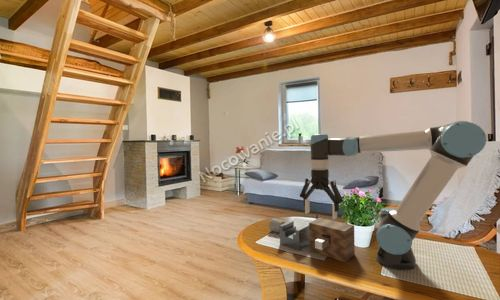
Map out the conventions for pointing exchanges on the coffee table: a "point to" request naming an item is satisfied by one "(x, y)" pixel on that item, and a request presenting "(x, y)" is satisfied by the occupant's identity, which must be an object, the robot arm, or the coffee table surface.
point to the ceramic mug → (275, 225)
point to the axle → (323, 242)
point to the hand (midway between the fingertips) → (320, 215)
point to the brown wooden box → (333, 238)
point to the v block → (294, 235)
